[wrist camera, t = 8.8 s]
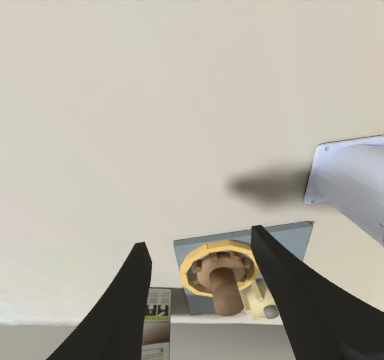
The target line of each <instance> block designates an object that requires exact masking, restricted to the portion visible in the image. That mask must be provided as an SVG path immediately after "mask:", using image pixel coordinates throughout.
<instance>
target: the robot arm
mask: <svg viewBox="0 0 384 360" xmlns="http://www.w3.org/2000/svg"><path fill="white" fill-rule="evenodd" d="M326 147H327V148H326ZM325 148H326V149H325ZM324 202H328V203H330V204H331V205H332V206H333V207H335V208H336V209H337V210H338V211H340V212H341V213H342V214H343V215H345V216H346V217H347V218H348V219H350V220H351V221H352V222H353V223H355V224H356V225H357V226H358V227H360V228H361V229H362V230H363V231H365V232H366V233H367V234H368V235H370V236H371V237H372V238H373V239H375V240H376V241H377V242H378V243H380V244H381V245H382V246H383V247H384V135H381V136H374V137H367V138H360V139H353V140H346V141H339V142H332V143H325V144H320V145H318V146H317V148H316V151H315V155H314V160H313V164H312V168H311V172H310V177H309V181H308V185H307V189H306V194H305V198H304V203H305V204H306V205H310V204H317V203H324ZM250 247H251V250H252V253H253V256H254V259H255V262H256V264H257V266H258V268H259V270H260V272H261V274H262V276H263V278H264V280H265V283H266V285H267V287H268V289H269V291H270V293H271V295H272V297H273V299H274V301H275V304H276V306H277V309H278V311H279V314H280V317H281V319H282V322H283V324H284V327H285V330H286V333H287V335H288V338H289V341H290V343H291V346H292V349H293V352H294V355H295V358H296V360H384V312H382V311H380V310H378V309H376V308H374V307H373V306H371V305H369V304H367V303H365V302H364V301H362V300H360V299H358V298H356V297H355V296H353V295H351V294H350V293H348V292H346V291H345V290H343V289H342V288H340V287H338V286H337V285H335V284H333V283H332V282H330V281H329V280H327V279H326V278H324V277H323V276H321V275H320V274H318V273H317V272H316V271H314V270H313V269H311V268H310V267H309V266H307V265H306V264H305V263H303V262H302V261H301V260H300V259H298V258H297V257H296V256H295V255H294V254H292V253H291V252H290V251H289V250H288V249H286V248H285V247H284V246H283V245H282V244H281V243H280V242H279V241H277V240H276V239H275V238H274V237H273V236H272V235H271V234H270V233H269V232H268V231H267V230H266V229H265V228H264V227H263V226H261V225H257V226H252V230H251V246H250ZM151 271H152V261H151V258H150V255H149V252H148V249H147V247H146V244H145V242H141V243H136V244H135V245H134V247H133V248H132V250H131V252H130V254H129V255H128V257H127V259H126V260H125V262H124V264H123V265H122V267H121V269H120V270H119V272H118V274H117V275H116V277H115V278H114V280H113V281H112V283H111V284H110V285H109V287H108V288H107V290H106V291H105V293H104V294H103V295H102V297H101V298H100V299H99V301H98V302H97V303H96V305H95V306H94V307H93V308H92V310H91V311H90V312H89V313H88V315H87V316H86V317H85V318H84V319H83V321H82V322H81V323H80V324H79V325H78V326H77V327H76V329H75V330H74V331H73V332H72V333H71V334H70V335H69V336H68V337H67V339H65V341H64V342H63V343H62V344H61V345H60V346H59V347H58V348H57V349H56V350H55V351H54V352H53V353H52V354H51V355H50V356H49V357H48V358H47V359H46V360H141V355H142V340H143V328H144V319H145V312H146V306H147V300H148V294H149V288H150V281H151Z"/></svg>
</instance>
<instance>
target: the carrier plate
mask: <svg viewBox="0 0 384 360" xmlns="http://www.w3.org/2000/svg"><path fill="white" fill-rule="evenodd" d="M265 229H266V230H267V231H268V232H269V233H270V234H271V235H272V236H273V237H274V238H275V239H276V240H277V241H279V242H280V243H281V244H282V245H283V246H284V247H285V248H286V249H288V250H289V251H290V252H291V253H292V254H294V255H295V256H296V257H297V258H298V259H300V260H301V261H303V257H304V254H305V250H306V247H307V244H308V240H309V237H310V233H311V230H312V225H311V224H310V223H309V222H308V221H306V222H299V223H292V224H285V225H279V226H272V227H265ZM251 230H252V229H251ZM251 230H244V231H238V232H231V233H224V234H217V235H210V236H203V237H197V238H190V239H183V240H176V241H174V250H175V254H176V258H177V262H178V266H179V270H180V275H181V279H182V283H183V286H184V290H185V294H186V298H187V303H188V307H189V311H190V315H191V316H193V315H199V314H206V313H213V312H215V308H214V302H213V296H212V291H211V292H209V291H205V289H204V286H203V285H201V284H200V283H199V284H196V285H194V283H193V281H192V273H195V271H193V262H194V261H196V260H202V259H203V258H204V257H206V256H208V255H209V253H212V252H229V251H230V250H232V251H236V252H239V255H240V258H241V259H243V258H246V257H247V260H248V262H249V265H250V268H251V269H248V270H245V273H246V276H247V280H246V281H245V282H238V283H237V285H238V289H239V292H240V295H241V299H242V302H243V305H244V307H243V308H245V310H246V313H251V314H252V315H253V316H254V319H255V320H260V319H261V318H268V319H273V318H276V317H278V316H280V314H279V311H278V309H277V306H276V304H275V301H274V299H273V297H272V295H271V293H270V291H269V289H268V287H267V285H266V283H265V280H264V278H263V276H262V274H261V272H260V270H259V268H258V266H257V264H256V262H255V259H254V256H253V253H252V250H251V247H250V246H251Z"/></svg>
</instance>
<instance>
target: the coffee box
mask: <svg viewBox="0 0 384 360" xmlns="http://www.w3.org/2000/svg"><path fill="white" fill-rule="evenodd" d="M170 316H171V289H156V288H149V294H148V300H147V306H146V312H145V319H144V328H143V340H142V355H141V360H169V356H170V355H169V353H170Z"/></svg>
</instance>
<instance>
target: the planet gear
mask: <svg viewBox="0 0 384 360" xmlns="http://www.w3.org/2000/svg"><path fill="white" fill-rule="evenodd" d="M248 269H251V268H250V265H249V262H248V260H247V257H246V258H243V259H241V258H240V255H239V252H236V251H232V250H230V251H229V252H212V253H209V255H208V256H206V257H204V258H203V259H202V260H196V261H194V262H193V271H195V273H192V281H193V283H194V285H196V284H199V283H200V284H201V285H203V286H204V289H205V291H209V292H211V291H212V296H213V302H214V308H215V313H216V314H218V315H220V316H231V315H235V314H237V313H239V312H240V311H242V309H243V307H244V305H243V302H242V299H241V295H240V292H239V289H238V285H237V283H238V282H245V281H246V280H247V276H246V273H245V270H248Z"/></svg>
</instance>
